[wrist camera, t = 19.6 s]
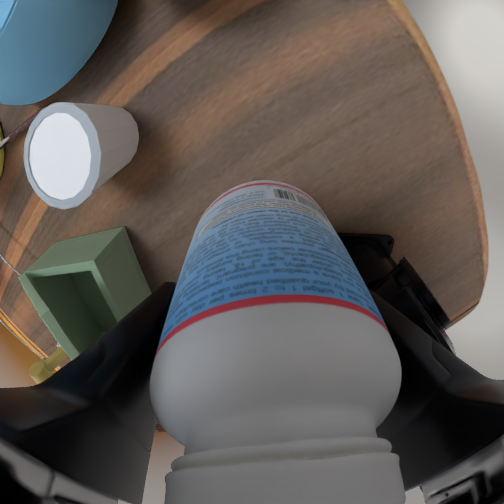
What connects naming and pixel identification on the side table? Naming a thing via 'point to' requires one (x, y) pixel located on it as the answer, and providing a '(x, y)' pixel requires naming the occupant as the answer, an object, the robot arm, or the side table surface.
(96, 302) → the chest
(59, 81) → the sugar bowl
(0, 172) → the candle
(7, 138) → the pen
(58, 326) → the lid
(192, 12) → the side table surface
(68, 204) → the shot glass
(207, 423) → the pill bottle
